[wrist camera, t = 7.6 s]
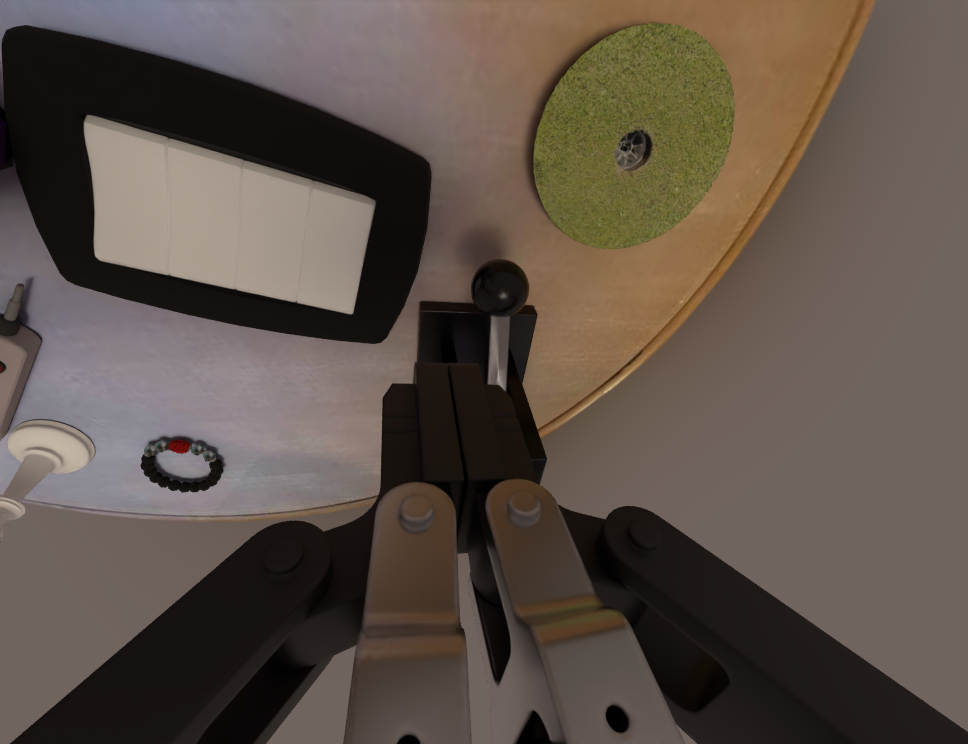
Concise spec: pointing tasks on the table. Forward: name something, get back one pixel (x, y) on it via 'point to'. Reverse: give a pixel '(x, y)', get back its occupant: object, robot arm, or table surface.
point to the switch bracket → (483, 355)
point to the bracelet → (181, 448)
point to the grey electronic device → (14, 358)
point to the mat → (634, 135)
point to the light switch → (210, 191)
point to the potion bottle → (5, 143)
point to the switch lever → (498, 311)
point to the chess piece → (41, 460)
